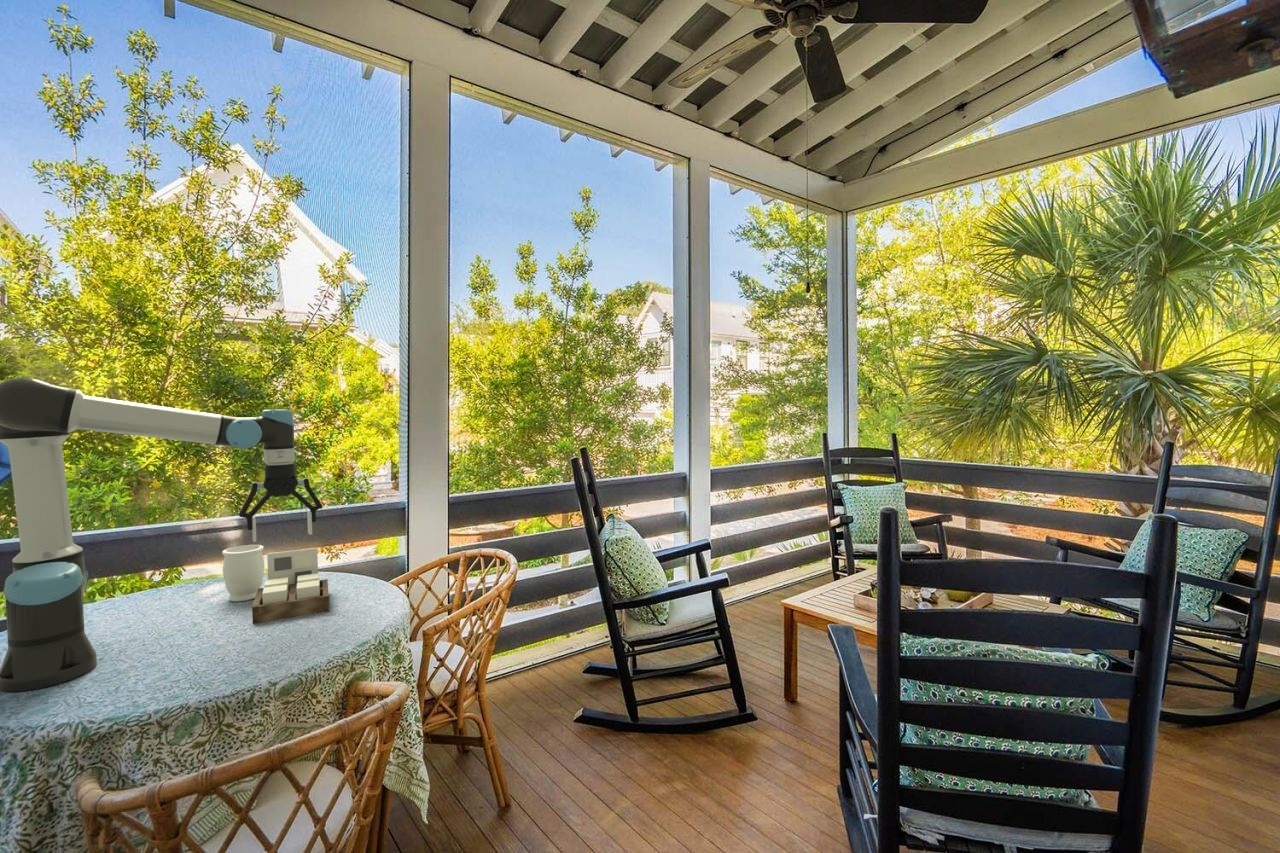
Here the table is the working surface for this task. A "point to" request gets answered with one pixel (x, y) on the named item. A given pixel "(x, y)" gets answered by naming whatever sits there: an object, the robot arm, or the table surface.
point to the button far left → (277, 582)
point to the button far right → (308, 578)
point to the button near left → (275, 594)
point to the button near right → (308, 589)
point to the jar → (243, 571)
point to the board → (290, 605)
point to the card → (292, 564)
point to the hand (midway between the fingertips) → (283, 537)
